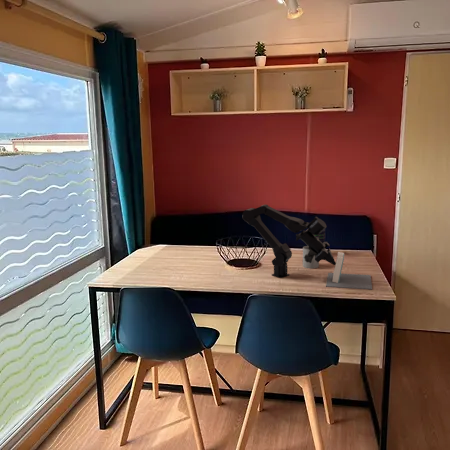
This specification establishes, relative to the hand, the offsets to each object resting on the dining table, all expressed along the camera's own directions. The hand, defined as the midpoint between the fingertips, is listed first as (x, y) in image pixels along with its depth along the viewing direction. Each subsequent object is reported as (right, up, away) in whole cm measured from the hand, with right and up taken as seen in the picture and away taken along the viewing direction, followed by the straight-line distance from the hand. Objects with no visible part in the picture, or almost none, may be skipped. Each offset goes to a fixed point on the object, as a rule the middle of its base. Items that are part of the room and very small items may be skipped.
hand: (335, 264), depth 214 cm
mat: (+7, -8, 0) cm, 10 cm away
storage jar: (0, +1, +47) cm, 47 cm away
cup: (-7, -3, +26) cm, 27 cm away
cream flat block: (+1, -7, +2) cm, 7 cm away
